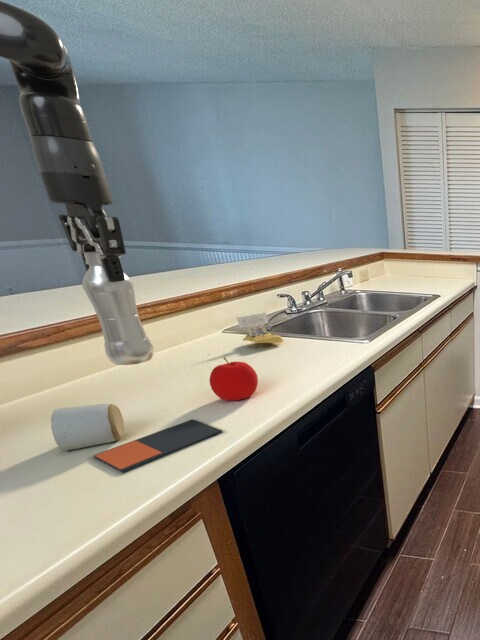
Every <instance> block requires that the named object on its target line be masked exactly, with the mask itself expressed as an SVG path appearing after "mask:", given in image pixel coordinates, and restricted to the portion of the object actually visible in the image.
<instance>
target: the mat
mask: <svg viewBox="0 0 480 640" xmlns="http://www.w3.org/2000/svg"><path fill="white" fill-rule="evenodd" d="M220 434H223V430H222V429H219V428H218V427H214V426H212V425H209V424H206V423H203V422H201V421H198V420H196V419H193V418H192V419H189V420H186V421H184V422H181V423H178V424H175V425H173V426H170V427H168V428H165V429H164V428H163V429H162V430H160V431H156V432H154V433H151V434H148V435H145V436H142V437H139V438H137V439H134V440H131V441H129V442H126V443H122V444H121V445H118V446H115V447H112V448H110V449H107V450H104V451H100V452H99V453H96V454H93V458H94V459H95V460H97V461H99V462H101V463H103V464H104V465H107V466H109V467H111V468H113V469H115V470H117V471H118V472H120V473H122V474H125V473H127V472H130V471H133V470H135V469H137V468H140V467H143V466H144V465H145V466H146V465H147V464H149V463H152V462H155V461H157V460H159V459H162V458H165V457H167V456H169V455H171V454H174V453H176V452H179V451H182V450H183V449H184V450H185V449H187V448H188V447H191V446H194V445H196V444H198V443H201V442H203V441H206V440H208V439H210V438H213V437H215V436H218V435H220Z"/></svg>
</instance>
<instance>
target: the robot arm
mask: <svg viewBox="0 0 480 640" xmlns="http://www.w3.org/2000/svg"><path fill="white" fill-rule="evenodd" d="M0 58H2V59H5V60H8V62H9V64H10V67H11V70H12V73H13V76H14V79H15V81H16V84H17V86H18V90H19V93H20V95H19V97H18V101H19V107H20V111H21V114H22V117H23V120H24V122H25V125H26V128H27V131H28V134H29V138H30V141H31V146H32V152H33V156H34V159H35V162H36V165H37V168H38V171H39V174H40V176H41V179H42V183H43V185H44V188H45V192H46V194H47V198H48V199H49V201H50V202H51V203H53V204H63V205H65V207H66V214H59V215H58V220H59V221H60V224H61V226H62V229H63V231H64V233H65V235H66V238H67V241H68V244H69V246H70V249H71V250H72V252H77V254H78V256H80V257H81V258H82V262H83V264H84V267H85V270H86V272H87V271H88V269H89V264H86V262H85V261H86V259H85V256H84V253H85V252H98V253H99V255H100V257H101V258H102V259H101V261H102V264H103V267H104V271H105V274H106V277H107V280H108V281H111V282H117V281H124V280H125V276H124V273H125V272H124V270H123V267H122V263H121V260H120V259H121V258H122V256H123V255H124V256H125V255H126V254H127V252H126V248H125V242H124V238H123V233H122V228H121V224H120V220H119V219H118V217H117V216H108V215H107V213H106V212H105V209H104V207H103V206H112V205H113V204H114V200H113V196H112V194H111V190H110V187H109V183H108V181H107V176H106V173H105V170H104V166H103V163H102V159H101V157H100V154H99V152H98V151H97V147H96V145H95V143H94V139H93V136H92V132H91V128H90V125H89V122H88V119H87V116H86V114H85V111H84V109H83V107H82V105H81V99H80V93H79V90H78V84H77V82H76V81H77V79H76V77H75V76H76V75H75V72H74V68H73V65H72V60H71V58H70V54H69V51H68V50H67V48H66V46H65V44H64V43H63V40H62V39H61V37H60V35H59V34H57V32H56V31H55V30H54V29H53V28H52V26H50V25H49V24H48V23H47V22H46V21H45V20H43V19H41V18H40V17H39V16H37V15H35V14H33V13H31V12H29V11H27V10H24V9H23V8H21V7H18V6H15V5H13V4H10V3H7V2H4V1H2V0H0ZM123 272H124V273H123Z"/></svg>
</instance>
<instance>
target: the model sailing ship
mask: <svg viewBox="0 0 480 640" xmlns="http://www.w3.org/2000/svg"><path fill="white" fill-rule="evenodd" d="M268 319H269V318H268V315H267V312H260V313H255V314H250V315H243V316H238V317H237V316H236V320H237V321H236V322H237V324H238V328H239V329H242V328H247V329H248V332H247V333H246V334H245V337H244V338H242V341H244V342H245V341H247V342H251V344H252V343H253V342H254V343H256V344H258V343H261V344H262V343H264V344H281V343H283V342H284V339H283V338H282V336H281V335H277V334H273V333H272V334H271V332H267V331H266V330H265V329H266V324H269V320H268ZM255 326H260V327H258V328H257V329H256V330H254V333H255V334H253V331H252V330H253V329H254V327H255ZM209 355H210V353H208V356H209Z"/></svg>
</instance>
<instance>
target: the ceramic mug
mask: <svg viewBox="0 0 480 640" xmlns="http://www.w3.org/2000/svg"><path fill="white" fill-rule="evenodd" d="M50 426H51V432H52V436H53V438H54V439H53V440H54V441H55V443H56V445H57V446H58V448H59V449H60V450H61V451H64V452H65V451H66V452H67V451H71V450H72V451H73V450H77V449H78V450H79V449H83V448H89V447H93V446H97V445H103V444H108V443H109V444H110V443H113V442H116V441H119V440H120V439H122V438H123V437H124V434H125V423H124V418H123V415H122V412H121V410H120V408H119V407H118V406H117V405H116V404H114V403H98V404H90V405H89V404H88V405H79V406H67V407H57V408H55V409H54V410H52V414H51V418H50Z"/></svg>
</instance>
